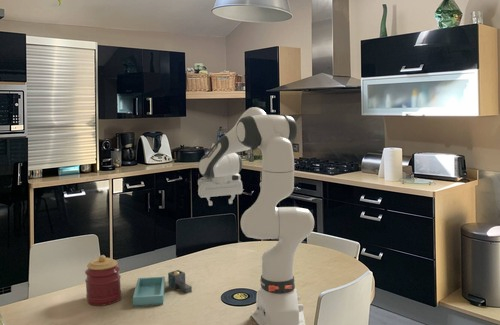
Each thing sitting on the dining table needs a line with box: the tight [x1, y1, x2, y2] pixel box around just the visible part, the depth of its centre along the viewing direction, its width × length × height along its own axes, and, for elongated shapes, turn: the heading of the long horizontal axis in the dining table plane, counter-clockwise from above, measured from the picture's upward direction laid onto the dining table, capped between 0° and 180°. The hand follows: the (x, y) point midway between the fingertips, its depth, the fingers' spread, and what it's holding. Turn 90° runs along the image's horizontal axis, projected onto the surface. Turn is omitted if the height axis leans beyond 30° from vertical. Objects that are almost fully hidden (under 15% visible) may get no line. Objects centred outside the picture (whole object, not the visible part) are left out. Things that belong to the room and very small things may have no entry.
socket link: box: [167, 269, 193, 294], centre depth 187 cm, size 11×5×6 cm, turn 43°
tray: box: [132, 276, 166, 308], centre depth 181 cm, size 20×11×4 cm, turn 8°
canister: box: [84, 254, 122, 306], centre depth 176 cm, size 13×13×18 cm
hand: (220, 204), depth 208 cm, fingers open, 8 cm apart
